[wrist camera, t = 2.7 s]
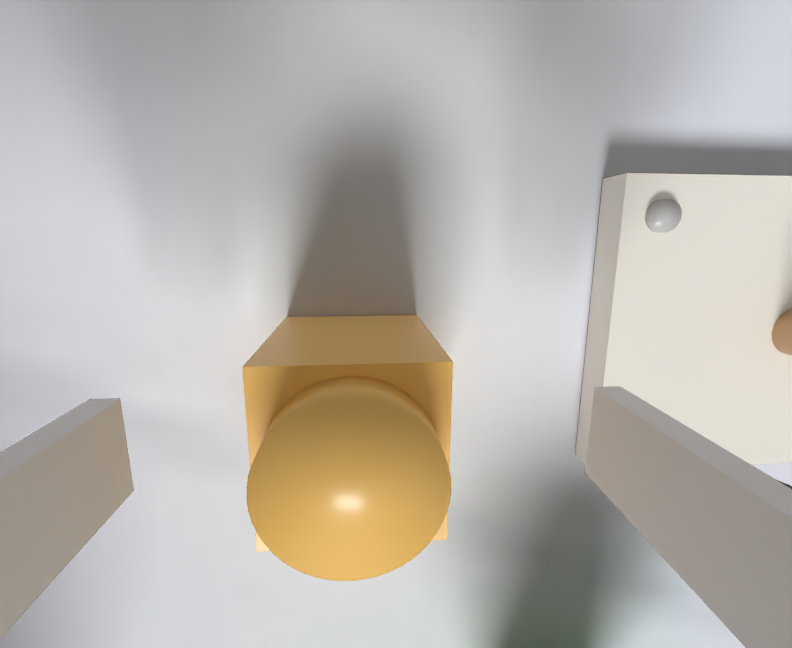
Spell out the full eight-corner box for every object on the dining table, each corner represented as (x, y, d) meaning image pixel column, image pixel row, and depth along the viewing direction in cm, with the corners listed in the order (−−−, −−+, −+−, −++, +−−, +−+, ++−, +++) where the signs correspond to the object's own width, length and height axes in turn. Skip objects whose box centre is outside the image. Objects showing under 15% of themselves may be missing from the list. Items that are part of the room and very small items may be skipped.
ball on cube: (293, 437, 17) (241, 599, 10) (287, 316, 16) (222, 389, 9) (415, 432, 18) (460, 583, 10) (416, 314, 17) (468, 381, 9)
